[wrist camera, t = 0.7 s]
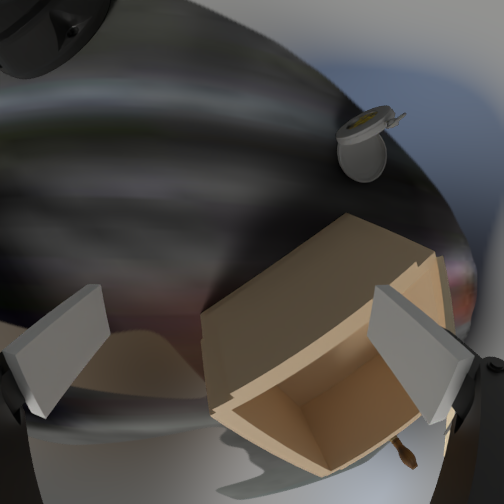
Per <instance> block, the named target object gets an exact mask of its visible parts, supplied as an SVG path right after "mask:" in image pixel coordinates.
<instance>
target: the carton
mask: <svg viewBox="0 0 504 504" xmlns="http://www.w3.org/2000/svg"><path fill="white" fill-rule="evenodd" d="M375 285H390V286H391V287H393V288H394V289H395V290H396V291H398V292H399V293H400V294H402V295H403V296H404V297H405V298H407V299H408V300H409V301H410V302H412V303H413V304H414V305H415V306H417V307H418V308H419V309H420V310H422V311H423V312H424V313H425V314H426V315H428V316H429V317H430V318H431V319H433V320H434V321H435V322H436V323H437V324H439V325H440V326H441V327H443V328H445V329H446V326H445V315H444V305H443V297H442V290H441V283H440V276H439V270H438V265H437V259H436V255H435V251H433V250H431V249H429V248H426V247H424V246H422V245H420V244H418V243H416V242H414V241H411V240H409V239H407V238H405V237H403V236H400V235H398V234H396V233H393V232H391V231H389V230H387V229H384V228H382V227H380V226H377V225H375V224H373V223H370V222H368V221H365V220H363V219H360V218H358V217H356V216H353V215H351V214H348V213H345V214H343V215H342V216H341V217H339V218H338V219H337V220H335V221H334V222H332V223H331V224H330V225H328V226H327V227H325V228H324V229H323V230H321V231H320V232H318V233H317V234H316V235H314V236H313V237H311V238H310V239H309V240H307V241H306V242H304V243H303V244H301V245H300V246H299V247H297V248H296V249H294V250H293V251H291V252H290V253H289V254H287V255H286V256H284V257H283V258H281V259H280V260H279V261H277V262H276V263H274V264H273V265H271V266H270V267H269V268H267V269H266V270H264V271H263V272H261V273H260V274H258V275H257V276H256V277H254V278H253V279H251V280H250V281H248V282H247V283H245V284H244V285H242V286H241V287H239V288H238V289H237V290H235V291H234V292H232V293H231V294H229V295H228V296H226V297H225V298H223V299H222V300H220V301H219V302H217V303H216V304H214V305H213V306H211V307H210V308H208V309H207V310H205V311H204V312H202V313H201V314H200V315H201V325H202V335H203V339H202V340H201V347H202V356H203V365H204V374H205V382H206V390H207V398H208V405H209V412H210V416H211V417H213V418H214V419H216V420H217V421H219V422H220V423H222V424H223V425H225V426H226V427H228V428H229V429H231V430H232V431H234V432H236V433H237V434H239V435H241V436H242V437H244V438H245V439H247V440H249V441H251V442H252V443H254V444H256V445H257V446H259V447H261V448H263V449H265V450H266V451H268V452H270V453H272V454H274V455H276V456H278V457H279V458H281V459H283V460H285V461H287V462H289V463H291V464H293V465H295V466H297V467H300V468H302V469H304V470H306V471H308V472H310V473H313V474H315V475H317V476H319V477H323V476H325V475H326V476H328V475H329V474H331V473H333V472H335V471H337V470H339V469H341V470H342V469H343V468H345V467H347V466H349V465H350V464H352V463H354V462H356V461H357V460H359V459H361V458H362V457H364V456H365V455H367V454H369V453H370V452H372V451H373V450H375V449H376V448H378V447H379V446H381V445H382V444H384V443H385V442H387V441H388V440H390V439H391V438H392V437H394V436H395V435H397V434H398V433H399V432H401V431H402V430H403V429H405V428H406V427H407V426H409V425H410V424H411V423H412V422H414V421H415V420H416V419H417V418H419V417H420V416H421V415H422V414H421V413H420V411H419V410H418V408H417V407H416V405H415V404H414V402H413V401H412V399H411V398H410V396H409V395H408V393H407V392H406V391H405V389H404V388H403V386H402V385H401V383H400V382H399V380H398V379H397V378H396V376H395V375H394V373H393V372H392V370H391V369H390V368H389V366H388V365H387V363H386V362H385V361H384V359H383V358H382V356H381V355H380V354H379V352H378V351H377V349H376V348H375V347H374V345H373V344H372V342H371V341H370V340H369V338H368V337H367V331H368V326H369V321H370V315H371V310H372V304H373V297H374V291H375Z"/></svg>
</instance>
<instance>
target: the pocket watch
mask: <svg viewBox="0 0 504 504" xmlns="http://www.w3.org/2000/svg"><path fill="white" fill-rule="evenodd" d="M405 115H406V113H403V114H402V115H400V116H399V117H398V118H394V117H395V113H394V111H393V109H391V108H390V107H389V106H379V107H376V108H372V109H370V110H368V111H365V112H363V113H361V114H359V115H358V116H356V117H354V118H352V119H351V120H350V121H348V122H347V123H346V124H344V125H343V126H342V127H341V128H340V129H339V130H338V131H337V133H336V135H335V136H336V139H337V142H338V146H337V156H338V161H339V164H340V166H341V168H342V170H343V171H344V173H345V174H346V175H347V176H348V177H350V178H351V179H353V180H355V181H358V182H361V183H366V182H371V181H373V180H375V179H376V178H378V177H379V176H380V175H381V173H382V172H383V170H384V168H385V165H386V160H387V152H386V146H385V143H384V141H383V139H382V137H381V135H380V134H379V132H381V131H382V130H384V129H385V128H387V129H389V128H393V127H395V126H397V125H398V124H399V122H398V121H400V120H401V119H402V118H403V117H404V116H405Z"/></svg>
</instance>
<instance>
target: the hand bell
mask: <svg viewBox="0 0 504 504" xmlns="http://www.w3.org/2000/svg"><path fill="white" fill-rule="evenodd" d="M390 441H391V442H392V444H393V445H394V446H395V447H396V449H397V450H398V452H399V456H400V458H401V460H402V461H403V463H404V464H406V465H407V466H408V467H410V468H411V469H415V468H416V467H417V466H418V465H417V463H416V458H415V456H414V454H413V453H412V452H411V451H410V450H409V449H408V448H406V447H405V446H404V445H402V443H401V441H400V440H399V438H398V437H397V436H396V435H395V436H394V437H392V438H391V439H390Z"/></svg>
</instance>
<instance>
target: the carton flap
mask: <svg viewBox="0 0 504 504" xmlns="http://www.w3.org/2000/svg"><path fill="white" fill-rule="evenodd" d="M436 259H437V265H438V270H439V276H440V283H441V290H442V297H443V305H444V315H445V326H446V329H447V330H449V331H451V332H452V333H453V334H454V335H455V325H454V316H453V308H452V301H451V295H450V288H449V283H448V277H447V272H446V267H445V262H444V258H443V256H440V257H436ZM454 414H455V410H454V409H453V408H452V407H451V409H450V411H449V413H448V415H447V424H446V429H447V427H448V426H449V424H450V422H451V421H452V419H453V417H454ZM449 435H450V430H449V431H448V433H447V435H446V438H445V448H444V456H445V453H446V449H447V444H448V440H449Z"/></svg>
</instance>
